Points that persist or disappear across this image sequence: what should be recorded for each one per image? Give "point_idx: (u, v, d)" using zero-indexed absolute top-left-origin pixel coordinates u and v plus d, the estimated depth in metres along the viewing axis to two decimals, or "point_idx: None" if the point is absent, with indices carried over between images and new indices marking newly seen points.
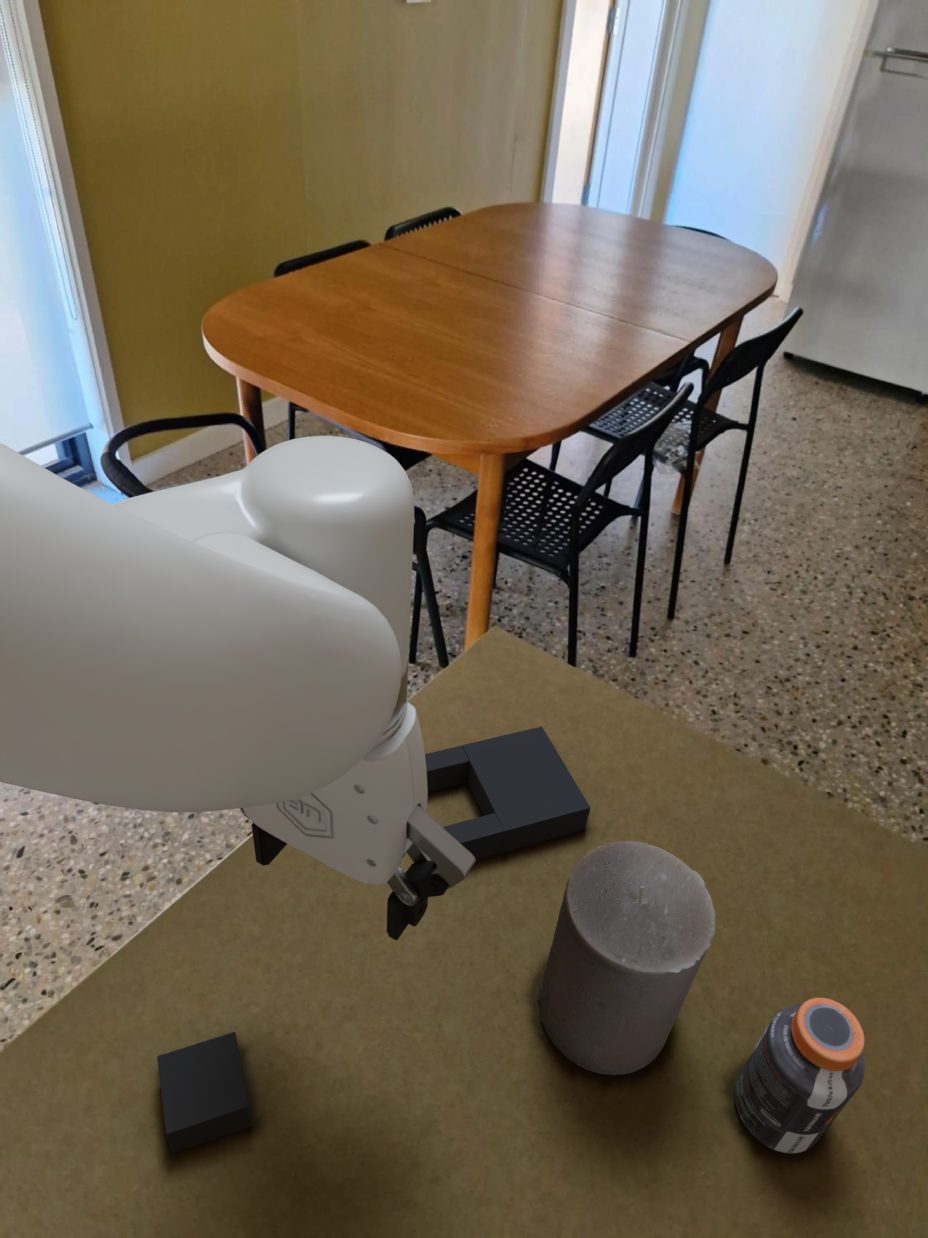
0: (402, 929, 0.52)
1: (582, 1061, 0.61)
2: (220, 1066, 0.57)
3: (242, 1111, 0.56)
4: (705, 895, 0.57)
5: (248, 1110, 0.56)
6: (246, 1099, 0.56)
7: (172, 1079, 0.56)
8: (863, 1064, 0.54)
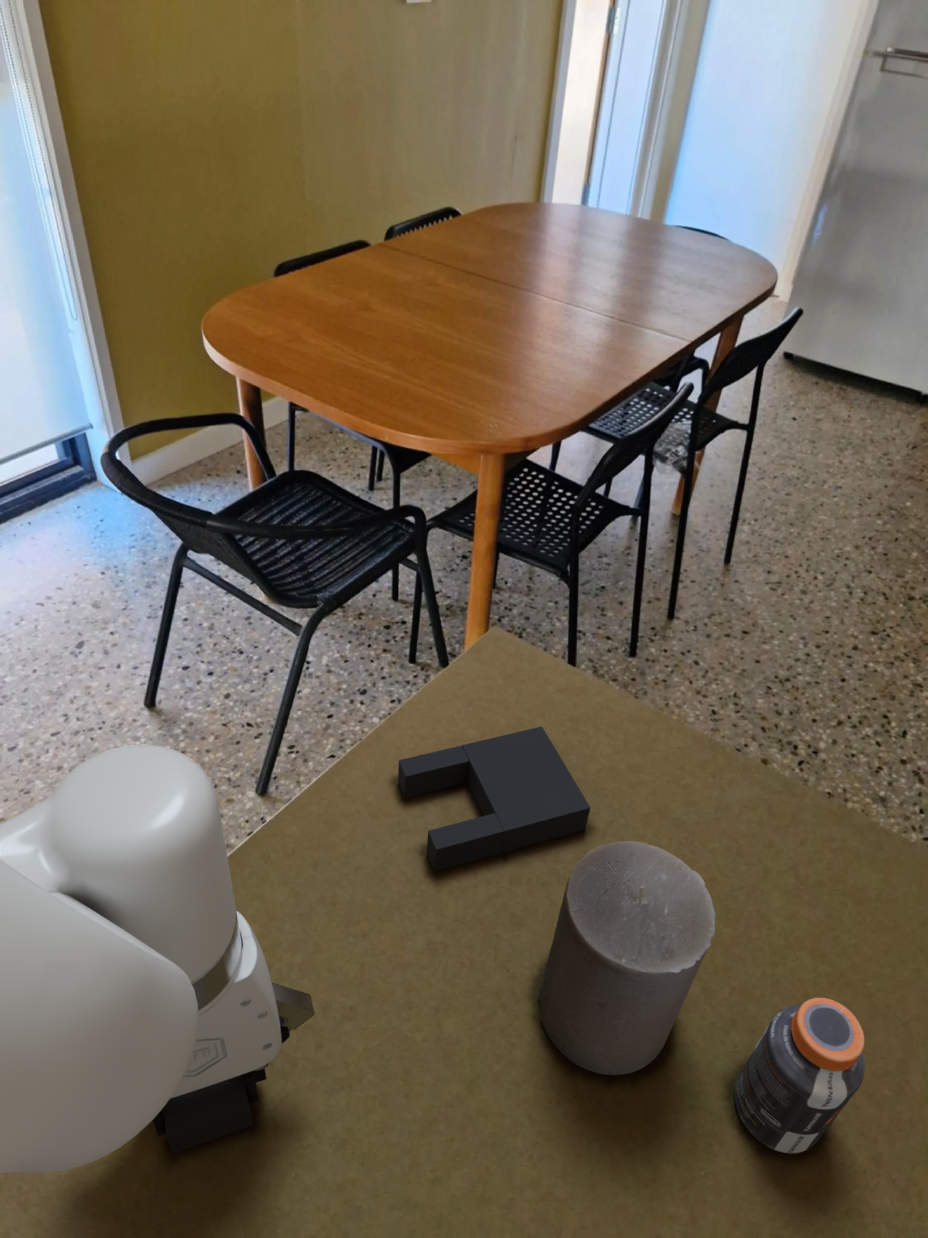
0: None
1: (582, 1061, 0.61)
2: None
3: (242, 1111, 0.56)
4: (705, 895, 0.57)
5: (248, 1110, 0.56)
6: (246, 1099, 0.56)
7: None
8: (863, 1064, 0.54)
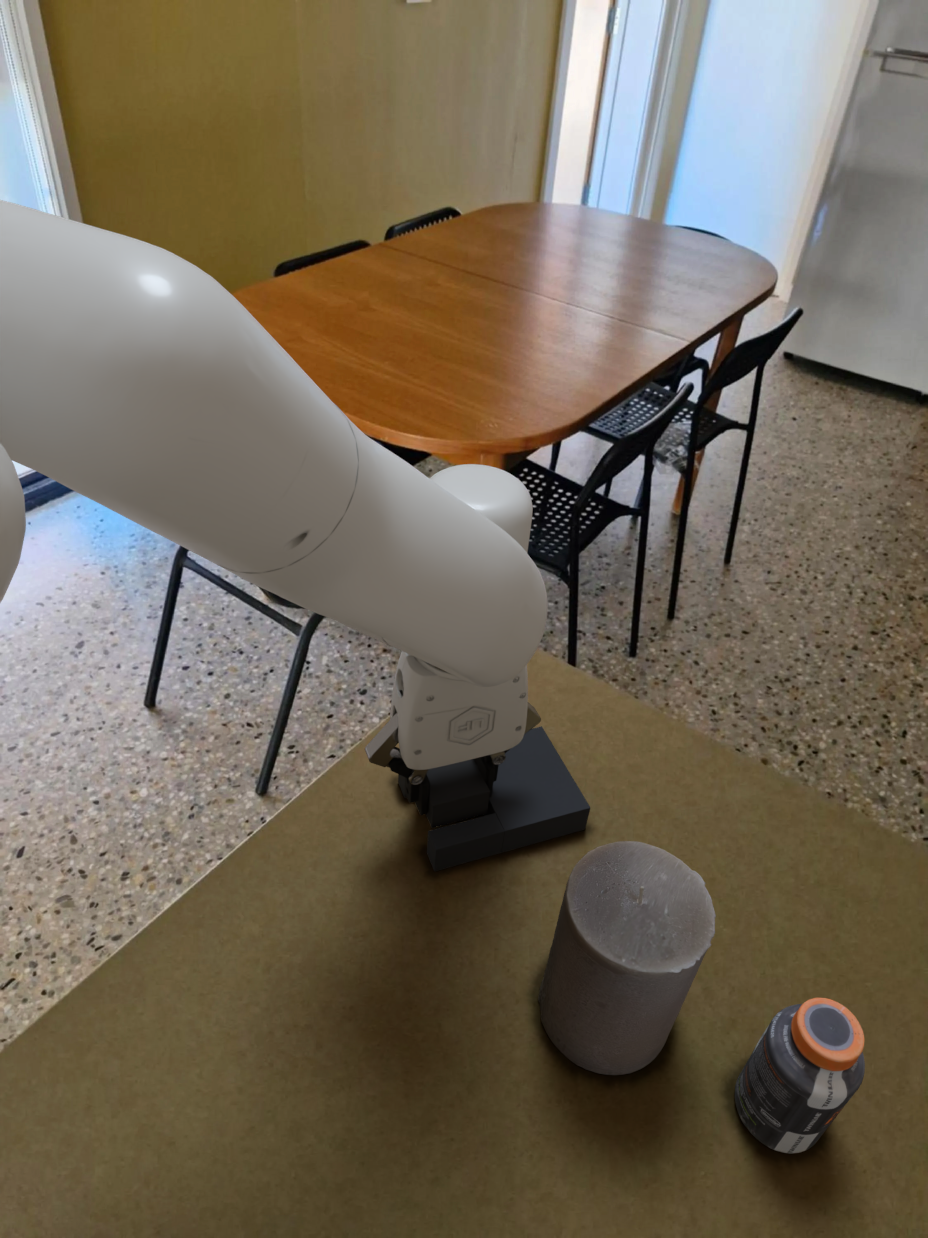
0: None
1: (582, 1061, 0.61)
2: (463, 768, 0.75)
3: (485, 795, 0.73)
4: (705, 895, 0.57)
5: (488, 795, 0.74)
6: (487, 787, 0.74)
7: (429, 774, 0.74)
8: (863, 1064, 0.54)
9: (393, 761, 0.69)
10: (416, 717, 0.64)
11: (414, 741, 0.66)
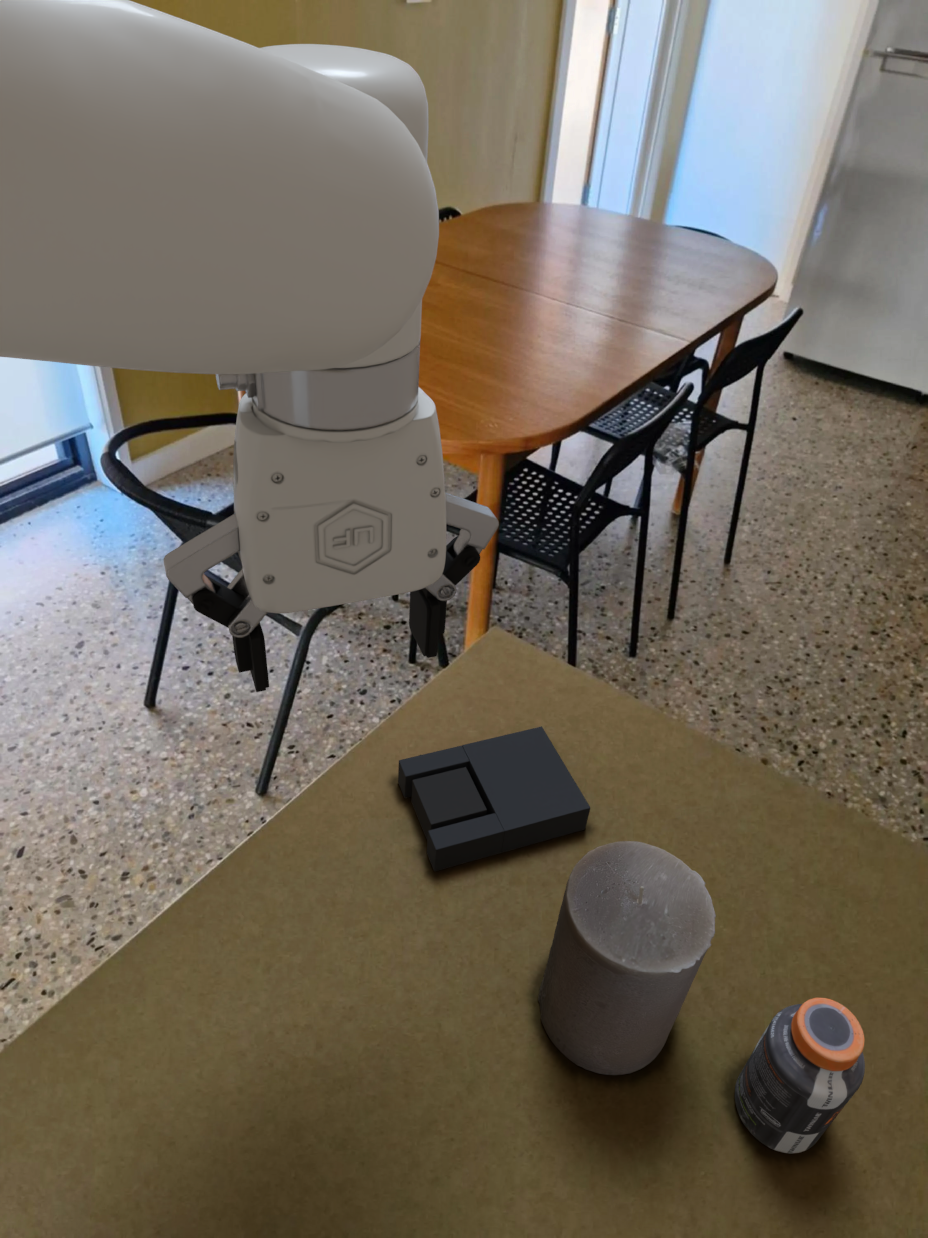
0: None
1: (582, 1061, 0.61)
2: (460, 786, 0.76)
3: (482, 814, 0.75)
4: (705, 895, 0.57)
5: (485, 814, 0.75)
6: (484, 805, 0.75)
7: (427, 793, 0.76)
8: (863, 1064, 0.54)
9: (197, 594, 0.44)
10: (258, 513, 0.40)
11: (260, 559, 0.41)
